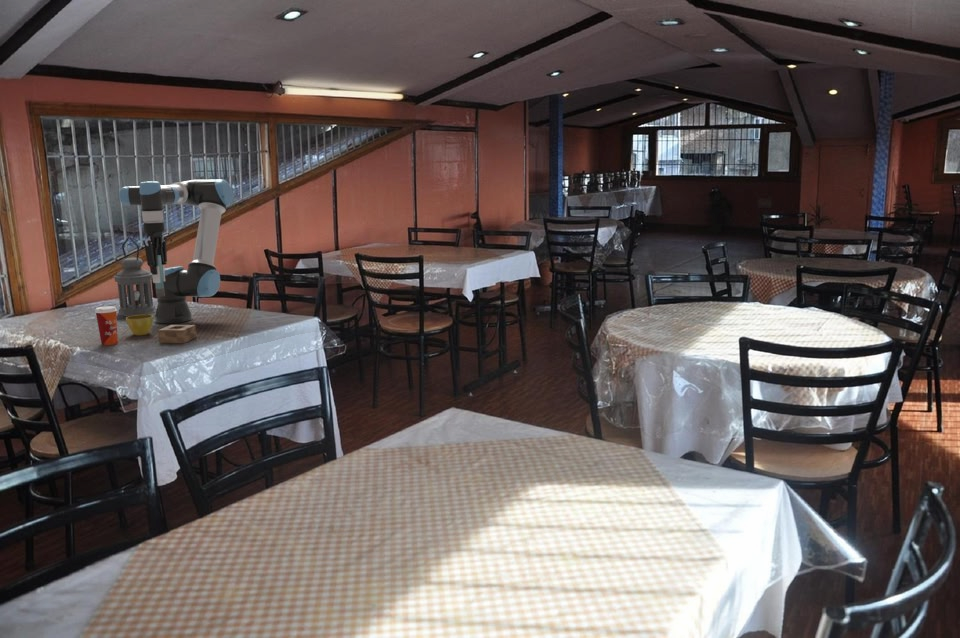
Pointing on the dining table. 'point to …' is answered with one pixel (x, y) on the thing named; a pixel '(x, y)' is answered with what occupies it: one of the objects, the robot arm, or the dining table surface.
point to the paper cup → (107, 324)
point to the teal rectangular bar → (160, 285)
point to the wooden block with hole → (177, 333)
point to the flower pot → (140, 324)
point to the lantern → (128, 279)
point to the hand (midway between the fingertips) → (159, 281)
